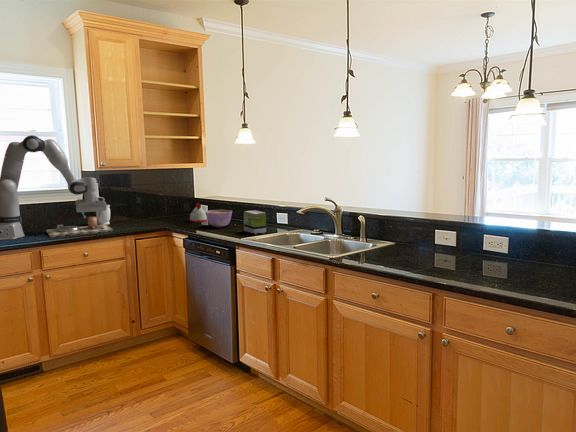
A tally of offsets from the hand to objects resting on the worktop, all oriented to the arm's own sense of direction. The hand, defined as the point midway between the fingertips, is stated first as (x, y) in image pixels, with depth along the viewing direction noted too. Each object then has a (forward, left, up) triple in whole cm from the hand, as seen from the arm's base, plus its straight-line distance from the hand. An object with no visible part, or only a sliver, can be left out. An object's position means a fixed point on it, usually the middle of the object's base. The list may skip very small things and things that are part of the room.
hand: (92, 217), depth 317 cm
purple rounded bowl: (+83, -36, -10) cm, 91 cm away
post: (-16, +1, -8) cm, 17 cm away
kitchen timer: (+80, -2, -10) cm, 81 cm away
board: (-9, 0, -9) cm, 13 cm away
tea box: (+94, -72, -10) cm, 119 cm away
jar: (+12, +25, -10) cm, 29 cm away
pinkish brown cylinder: (0, -1, -8) cm, 8 cm away
